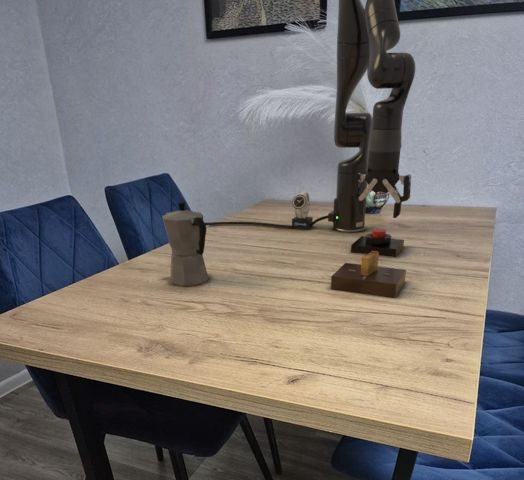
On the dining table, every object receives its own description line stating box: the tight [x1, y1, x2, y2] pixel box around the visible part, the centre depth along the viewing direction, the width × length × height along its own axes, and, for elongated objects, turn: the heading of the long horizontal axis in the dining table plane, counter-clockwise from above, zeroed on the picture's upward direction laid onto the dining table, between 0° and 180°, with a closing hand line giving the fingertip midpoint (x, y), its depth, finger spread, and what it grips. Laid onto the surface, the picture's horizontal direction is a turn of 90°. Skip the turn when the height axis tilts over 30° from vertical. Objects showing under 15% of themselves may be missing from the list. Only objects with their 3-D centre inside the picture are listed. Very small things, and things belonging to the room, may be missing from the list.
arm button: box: [371, 228, 387, 238], centre depth 127 cm, size 4×4×2 cm
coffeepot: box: [161, 201, 209, 287], centre depth 107 cm, size 15×9×18 cm, turn 39°
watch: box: [291, 191, 314, 231], centre depth 151 cm, size 6×8×11 cm
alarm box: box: [350, 232, 405, 258], centre depth 128 cm, size 12×10×4 cm
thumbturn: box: [360, 251, 380, 276], centre depth 102 cm, size 5×2×4 cm, turn 142°
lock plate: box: [330, 262, 407, 298], centre depth 104 cm, size 14×10×3 cm
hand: (378, 216), depth 123 cm, fingers open, 8 cm apart
